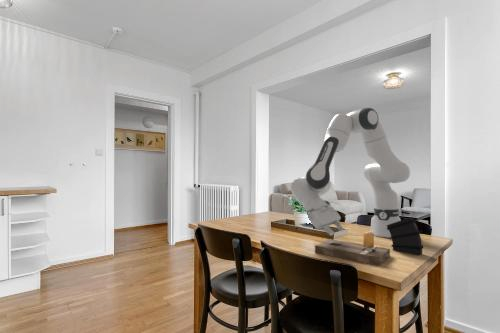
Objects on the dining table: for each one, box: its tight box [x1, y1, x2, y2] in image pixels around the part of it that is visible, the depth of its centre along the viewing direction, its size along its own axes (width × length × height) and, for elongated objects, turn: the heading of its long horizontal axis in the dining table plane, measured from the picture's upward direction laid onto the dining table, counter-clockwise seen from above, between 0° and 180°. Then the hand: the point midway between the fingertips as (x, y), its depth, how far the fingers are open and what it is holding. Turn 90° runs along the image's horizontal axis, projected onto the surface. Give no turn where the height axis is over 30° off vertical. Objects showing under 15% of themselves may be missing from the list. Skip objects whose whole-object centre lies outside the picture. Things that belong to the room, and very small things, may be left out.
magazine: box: [387, 216, 424, 256], centre depth 119 cm, size 4×13×15 cm, turn 42°
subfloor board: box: [314, 238, 391, 266], centre depth 116 cm, size 14×26×3 cm, turn 50°
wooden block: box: [363, 231, 375, 252], centre depth 112 cm, size 4×4×10 cm
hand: (337, 232), depth 120 cm, fingers open, 8 cm apart
